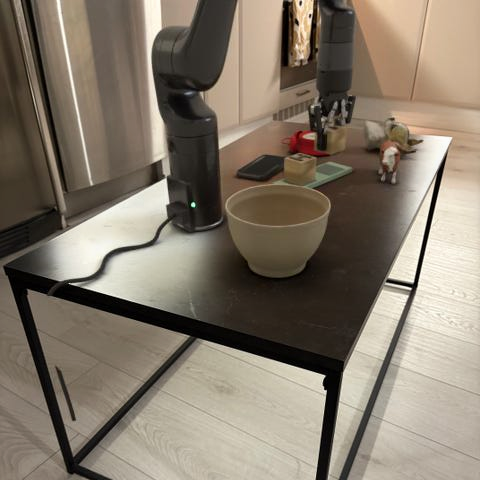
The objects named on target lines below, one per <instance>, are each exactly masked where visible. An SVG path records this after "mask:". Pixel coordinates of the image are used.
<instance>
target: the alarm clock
mask: <svg viewBox="0 0 480 480" xmlns="http://www.w3.org/2000/svg"><path fill="white" fill-rule="evenodd" d="M284 140H289V142H283V141H284ZM314 141H315V132H312V131H310V130H307V131H302V130H296V131H295V132H294V133H293V135H292V136H291V137H284V138H282V139H281V141H280V143H281V144H283V145H287V146H289V150H290V152H291V153H292V154H297V152H298V153H301V154H305V155H309V156H326V155H328V154H326V153H323V152H319V151H315V150H314Z"/></svg>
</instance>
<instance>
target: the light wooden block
mask: <svg viewBox="0 0 480 480" xmlns="http://www.w3.org/2000/svg"><path fill="white" fill-rule="evenodd" d="M285 157H286V158H284V168H283V179H284V180H285V181H288V182H291V183H294V184H297V185H300V186H301V185H303V184H306V183H308V182H311V181H314V180H315V177H316V166H317V156H313V155H306V154H302V153H299V152H298V153H294V154H292V155H289V156H285Z"/></svg>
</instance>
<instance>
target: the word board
mask: <svg viewBox="0 0 480 480" xmlns="http://www.w3.org/2000/svg"><path fill="white" fill-rule="evenodd" d="M353 170H354V169H353V167H351V166H347V165H343V164H340V163H338V162H337V163H336V162H334V161H333V162H332V161H327V162H324V163H322V164H320V165H316V177H315V180H314V181H311V182H308V183H306V184H303V185H301V186H302V187H307V188H311V189H314V188H316V187H319V186H322V185H324V184H326V183H329V182H331V181H334V180H336V179H339V178H341V177H343V176H346V175H349V174H351V173H353ZM271 184H289V185H297V184H294V183H291V182H288V181H285V180H284V178H282V179H279V180H276V181H274V182H272V183H271ZM297 186H300V185H297Z"/></svg>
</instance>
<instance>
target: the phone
mask: <svg viewBox="0 0 480 480" xmlns="http://www.w3.org/2000/svg"><path fill="white" fill-rule="evenodd" d="M286 157H287V156H283V155H282V156H281V155H273V154H269V153H268V154H265V153H264V154H262V155H260V156H258V157H256V158H255V159H254V160H252V161H250V162H249V163H247V164H245V165H244V166H242V167H241V168H239V169H237V170H236V177H237V178H240V179H241V178H242V179H247V180H253V181H259V182H264V181H267V180H269V179H270V178H271V177H273V176H275V175H277V173H279V172H280V171H282V170H284V158H286Z"/></svg>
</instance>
